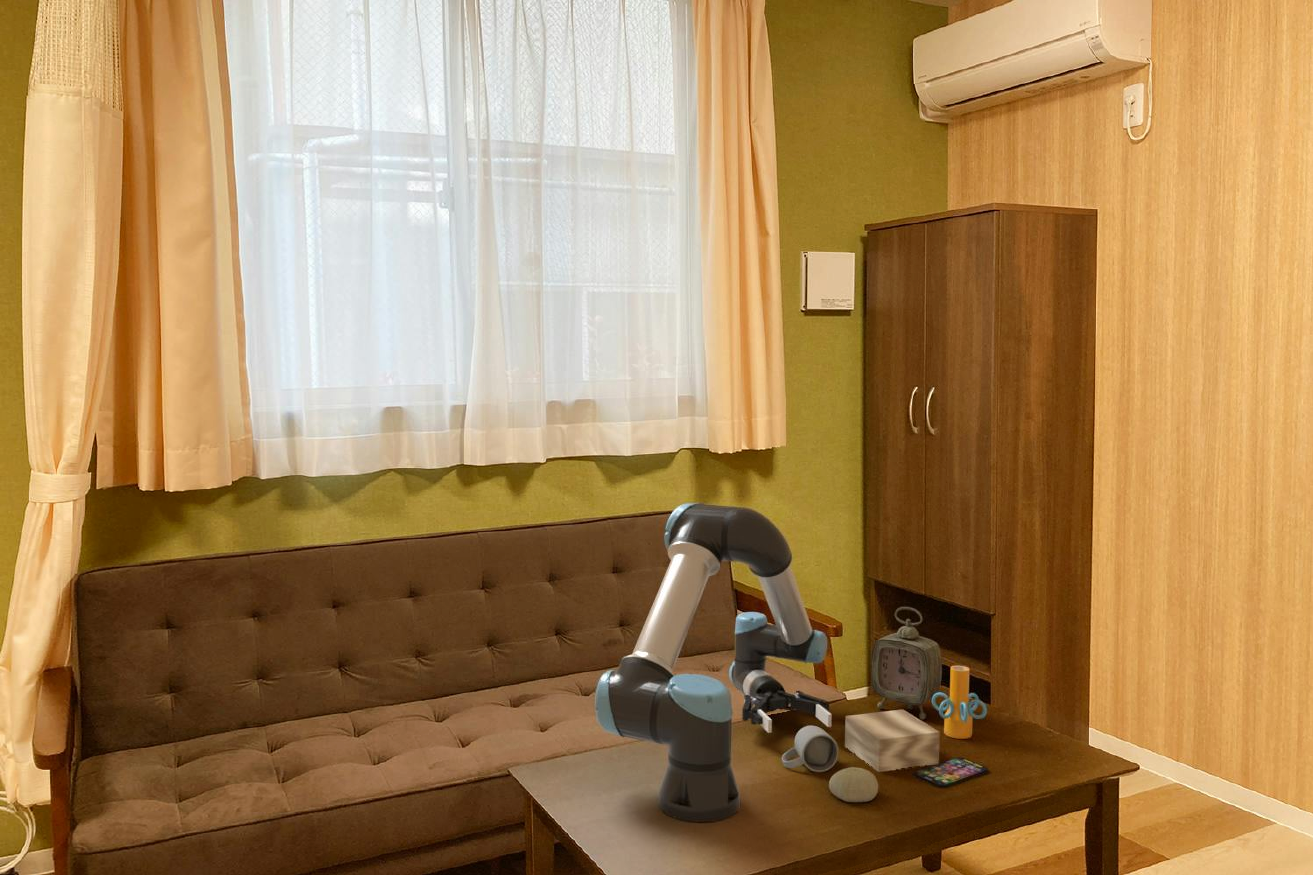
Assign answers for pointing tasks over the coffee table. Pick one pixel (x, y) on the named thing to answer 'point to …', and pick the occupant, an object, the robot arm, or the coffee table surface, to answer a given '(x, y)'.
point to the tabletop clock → (906, 666)
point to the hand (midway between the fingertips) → (800, 723)
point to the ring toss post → (959, 705)
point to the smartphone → (950, 772)
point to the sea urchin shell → (854, 785)
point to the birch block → (892, 740)
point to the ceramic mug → (812, 750)
